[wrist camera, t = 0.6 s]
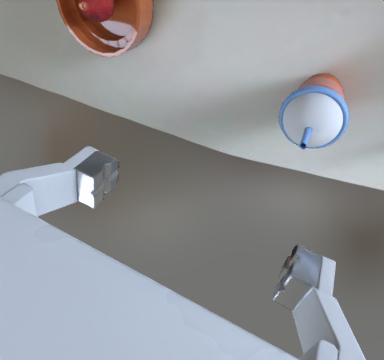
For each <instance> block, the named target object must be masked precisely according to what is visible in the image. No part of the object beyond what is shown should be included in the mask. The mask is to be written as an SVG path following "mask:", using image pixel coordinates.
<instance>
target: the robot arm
mask: <svg viewBox="0 0 384 360" xmlns="http://www.w3.org/2000/svg"><path fill="white" fill-rule="evenodd" d="M118 168H119V161H118V160H117V159H115V158H113V157H111V156H109V155H107V154H105V153H103V152H101V151H99V150H97V149H95V148H93V147H90V146H87V147H85V148H84V149H83V150H81V151H80V152H78V153H77V154H75V155H74V156H73V157H71V158H70V159H69V160H67V161H66V162H65V163H63V164H62V163H54V164H49V165H43V166H37V167H32V168H26V169H21V170H16V171H10V172H5V173H4V174H2V175H0V360H366V359H365V357H364V356H363V353H362V351H361V349H360V347H359V345H358V343H357V341H356V339H355V337H354V335H353V333H352V331H351V329H350V327H349V324H348V322H347V320H346V318H345V316H344V314H343V312H342V310H341V308H340V306H339V304H338V302H337V300H336V298H334V297H332V293H333V284H334V275H335V267H336V263H335V261H333V260H330V259H328V258H326V257H324V256H321V255H319V254H317V253H315V252H313V251H311V250H309V249H306V248H304V247H302V246H300V245H296V246H295V247H294V249H293V251H292V254H291V256H288V258H287V259H286V261H285V263H284V265H283V267H282V269H281V272H280V275H279V279H280V282H279V283H278V285H277V286H276V289H275V293H274V296H273V301H275V302H277V303H278V304H280V305H282V306H284V307H286V308H287V309H290V310H291V311H293V312H292V313H293V316H294V320H295V324H296V327H297V331H298V335H299V338H300V342H301V346H302V349H303V353H304V354H303V355H302V356H301V357H300V358H299V359H297V358H295V357H294V356H291V355H290V354H288V353H286V352H284V351H282V350H281V349H279V348H277V347H275V346H273V345H271V344H270V343H268V342H266V341H264V340H262V339H260V338H258V337H257V336H255V335H253V334H251V333H249V332H247V331H246V330H244V329H242V328H240V327H238V326H236V325H235V324H233V323H231V322H229V321H227V320H225V319H223V318H222V317H220V316H218V315H216V314H214V313H212V312H211V311H209V310H207V309H205V308H203V307H201V306H199V305H198V304H196V303H194V302H192V301H190V300H188V299H187V298H185V297H183V296H181V295H179V294H177V293H175V292H174V291H171V290H170V289H168V288H166V287H164V286H163V285H161V284H159V283H157V282H155V281H153V280H152V279H150V278H148V277H146V276H144V275H142V274H140V273H139V272H137V271H135V270H133V269H131V268H129V267H128V266H126V265H124V264H122V263H120V262H118V261H117V260H114V259H113V258H111V257H109V256H107V255H106V254H104V253H102V252H100V251H98V250H96V249H94V248H93V247H91V246H89V245H87V244H85V243H83V242H82V241H80V240H78V239H76V238H74V237H72V236H70V235H69V234H67V233H65V232H63V231H61V230H59V229H58V228H56V227H54V226H52V225H50V224H48V223H46V222H44V221H43V220H41V219H39V218H38V216H39V215H42V214H45V213H48V212H50V211H53V210H56V209H59V208H61V207H64V206H67V205H70V204H72V203H76V202H78V201H80V202H81V203H83V204H86V205H88V206H90V207H92V208H95V207H96V206H97V205H98V204H99V203H100V202H101V201H102V200H103V199H104V195H105V194H109V193H111V192H112V191H113V189H114V188H115V186H116V184H117V182H118V177H119V174H118V173H117V171H116V170H117V169H118Z"/></svg>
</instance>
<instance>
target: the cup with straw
mask: <svg viewBox="0 0 384 360" xmlns="http://www.w3.org/2000/svg"><path fill="white" fill-rule="evenodd" d="M348 121H349V111H348V107H347V104H346V102H345V100H344V93H343V90H342V86H341V84H340V82H339V81H338V80H337V79H336V78H335V77H334V76H331V75H329V74H317V75H314V76H312V77H311V78H309V79H308V80H307V81H306V82H304V83H303V84H302V85H301V86H300V87H299V88H298V89H297V90H296V91H294V92H293V93H291V94H290V95H289V96H288V97H287V98H286V99H285V101H284V102H283V104H282V106H281V109H280V112H279V123H280V127H281V130H282V131H283V133H284V135H285V136H286V137H287V138H288V139H289V140H290V141H291V142H293V143H294V144H296V145H298V146H299V147H300V148H301V149H305V148H322V147H325V146H328V145H330V144H332V143H334V142H335V141H336V140H338V139H339V138H340V137H341V136H342V134H343V133H344V132H345V130H346V128H347V125H348Z"/></svg>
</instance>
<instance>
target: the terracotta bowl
mask: <svg viewBox="0 0 384 360" xmlns="http://www.w3.org/2000/svg"><path fill="white" fill-rule="evenodd" d="M114 1H115V8H114V13H113V15H112V16H111V18H110V19H109V20H107V21H104V22H95V21H92V20H89V19H88V18H87V17H86V16H85V15H84V14H83V13H82V11H81V10H80V7H79V0H56V2H57V5H58V9H59V12H60V15H61V17H62V19H63V21H64V23H65V25H66V26H67V28H68V30H69V31H70V33H71V34H72V35H73V36H74V38H75V39H76V40H77V41H78V42H79V43H80V44H81V45H82V46H84V47H85V48H86V49H88V50H89V51H90V52H93V53H95V54H98V55H100V56H105V57H115V56H117V55H120V54H122V53H124V52H126V51H128V50H130V49H133V48H135V47H137V46H138V45H139V44H140V43H141V42H142V41H143V40H144V38H145V37H146V36H147V33H148V31H149V28H150V26H151V23H152V14H153V1H152V0H114Z"/></svg>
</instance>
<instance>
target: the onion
mask: <svg viewBox="0 0 384 360" xmlns="http://www.w3.org/2000/svg"><path fill="white" fill-rule="evenodd" d="M79 7H80V10H81V11H82V13H83V14H84V15H85V16H86V17H87V18H88V19H89V20H92V21H95V22H104V21H107V20H109V19H110V18H111V16H112V15H113V13H114V8H115V1H114V0H79Z"/></svg>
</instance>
